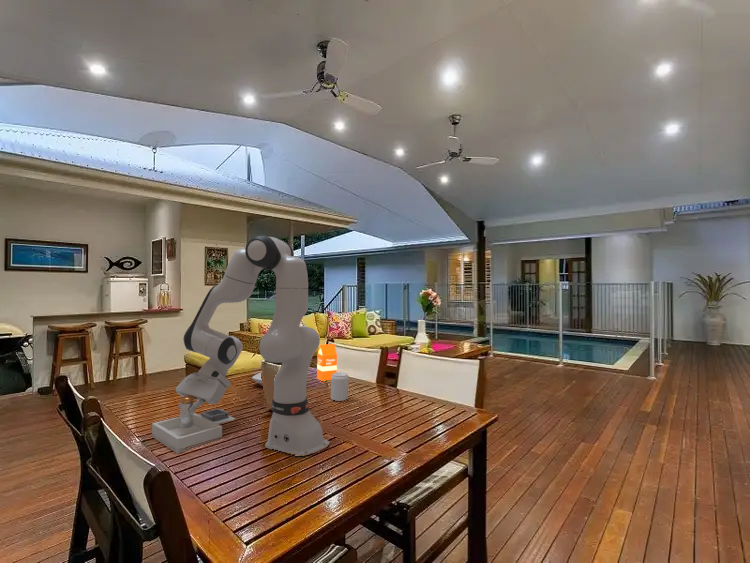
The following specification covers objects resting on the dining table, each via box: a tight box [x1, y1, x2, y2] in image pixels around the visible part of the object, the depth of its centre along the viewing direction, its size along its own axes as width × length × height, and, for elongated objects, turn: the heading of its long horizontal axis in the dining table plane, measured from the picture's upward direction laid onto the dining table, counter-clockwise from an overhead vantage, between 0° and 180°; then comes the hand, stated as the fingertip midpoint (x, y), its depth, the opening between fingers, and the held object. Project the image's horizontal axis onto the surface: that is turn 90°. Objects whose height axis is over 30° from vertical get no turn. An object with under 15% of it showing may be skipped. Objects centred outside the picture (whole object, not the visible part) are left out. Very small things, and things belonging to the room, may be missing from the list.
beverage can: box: [330, 371, 349, 402], centre depth 184 cm, size 8×8×12 cm
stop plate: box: [199, 408, 236, 425], centre depth 153 cm, size 14×10×3 cm
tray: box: [151, 412, 223, 454], centre depth 136 cm, size 20×15×4 cm
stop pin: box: [179, 395, 195, 428], centre depth 136 cm, size 4×4×10 cm
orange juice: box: [316, 343, 338, 382], centre depth 220 cm, size 8×9×20 cm
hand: (185, 409), depth 135 cm, fingers closed on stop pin, 4 cm apart
